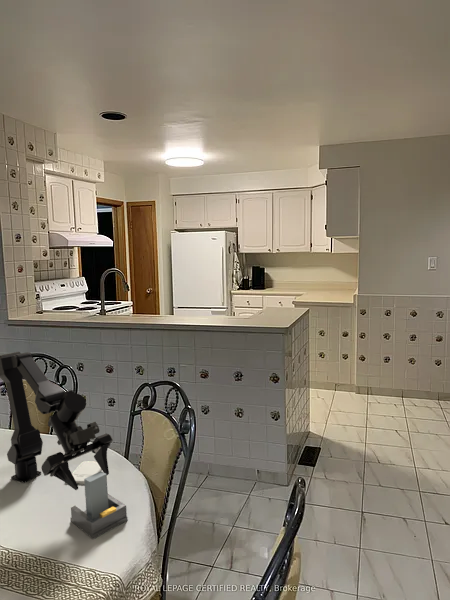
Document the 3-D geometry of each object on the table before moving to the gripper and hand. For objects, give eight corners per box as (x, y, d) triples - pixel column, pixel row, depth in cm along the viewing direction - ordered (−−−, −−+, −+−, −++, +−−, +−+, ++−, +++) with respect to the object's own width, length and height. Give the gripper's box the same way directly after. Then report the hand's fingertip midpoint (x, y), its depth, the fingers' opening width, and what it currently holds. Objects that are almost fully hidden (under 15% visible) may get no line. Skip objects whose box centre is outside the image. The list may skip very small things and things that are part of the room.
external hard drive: (106, 466, 146) (90, 486, 134) (82, 465, 147) (64, 485, 135) (106, 461, 146) (90, 481, 134) (82, 460, 147) (64, 480, 135)
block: (86, 519, 114) (84, 479, 113) (103, 510, 118) (100, 471, 117) (92, 522, 113) (89, 482, 112) (108, 513, 117) (106, 473, 115)
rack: (70, 521, 116) (69, 504, 115) (104, 504, 123) (103, 488, 122) (93, 539, 108) (91, 521, 107) (127, 520, 115) (126, 503, 115)
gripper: (44, 426, 110) (71, 483, 104) (107, 405, 124) (134, 453, 118) (30, 448, 115) (55, 503, 110) (92, 425, 130) (117, 472, 124)
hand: (92, 481), depth 115 cm, fingers open, 9 cm apart
